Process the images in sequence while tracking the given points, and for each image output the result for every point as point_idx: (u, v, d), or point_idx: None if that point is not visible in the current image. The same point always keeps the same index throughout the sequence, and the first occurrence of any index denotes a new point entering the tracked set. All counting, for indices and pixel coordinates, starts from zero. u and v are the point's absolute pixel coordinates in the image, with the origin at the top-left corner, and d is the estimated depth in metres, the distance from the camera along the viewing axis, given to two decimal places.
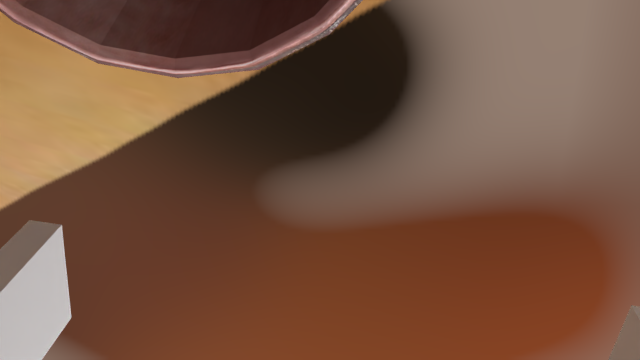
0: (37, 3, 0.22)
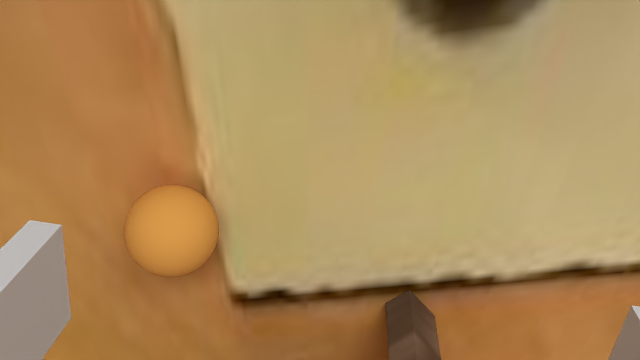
0: None
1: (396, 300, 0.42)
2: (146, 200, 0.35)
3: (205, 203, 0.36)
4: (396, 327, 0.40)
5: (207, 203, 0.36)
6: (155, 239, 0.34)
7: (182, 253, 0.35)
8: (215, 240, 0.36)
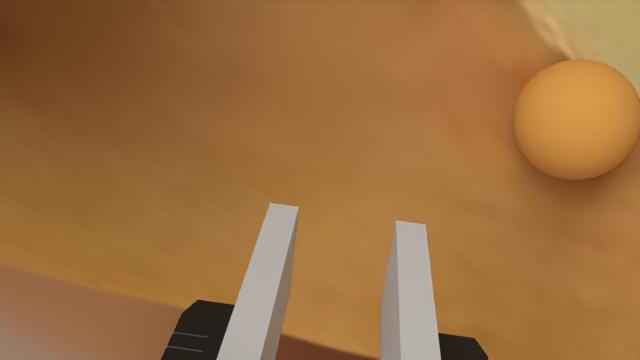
0: None
1: None
2: (525, 100, 0.28)
3: (590, 60, 0.27)
4: None
5: None
6: (570, 124, 0.26)
7: (613, 119, 0.26)
8: (634, 90, 0.27)
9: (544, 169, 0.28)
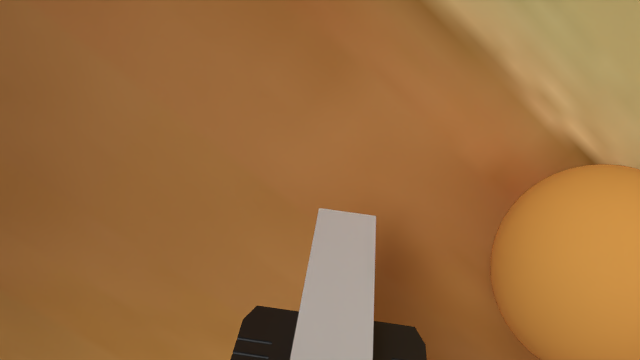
0: None
1: None
2: (510, 245, 0.15)
3: (629, 169, 0.15)
4: None
5: (631, 168, 0.15)
6: (598, 309, 0.13)
7: None
8: None
9: None
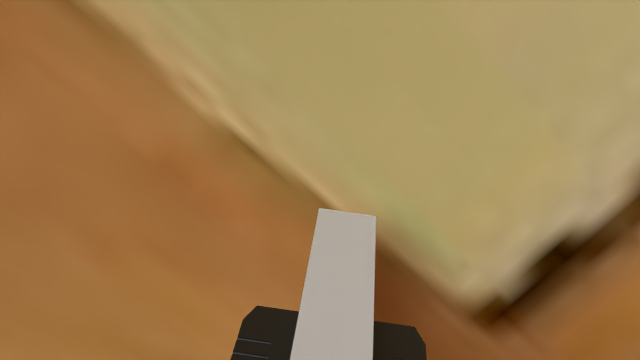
0: None
1: None
2: None
3: None
4: None
5: None
6: None
7: None
8: None
9: None
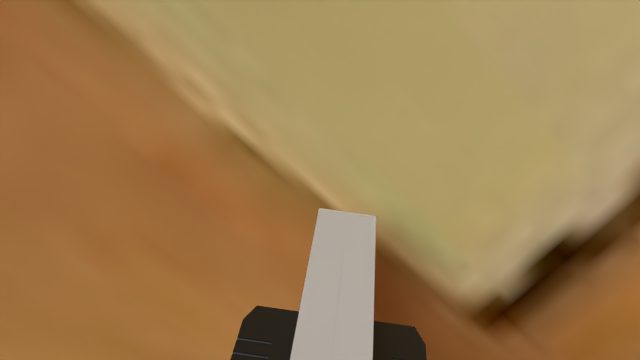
0: None
1: None
2: None
3: None
4: None
5: None
6: None
7: None
8: None
9: None
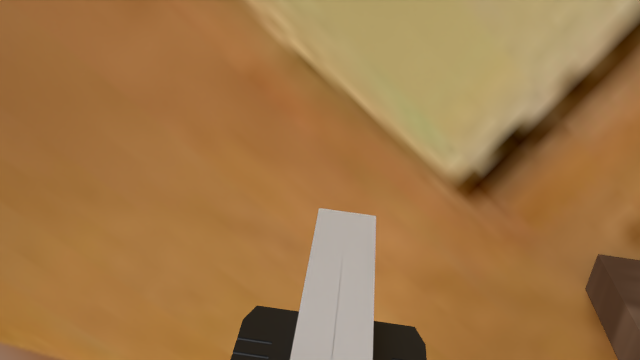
0: None
1: None
2: None
3: None
4: None
5: None
6: None
7: None
8: None
9: None
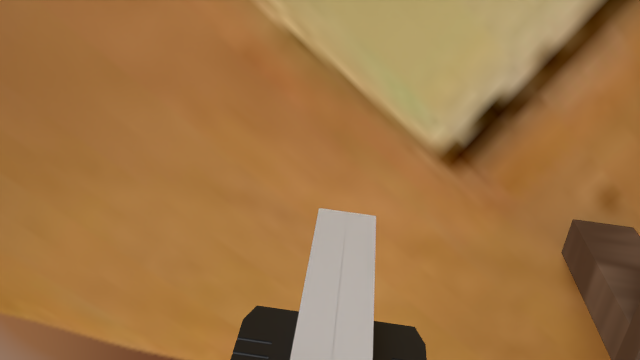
0: None
1: None
2: None
3: None
4: None
5: None
6: None
7: None
8: None
9: None
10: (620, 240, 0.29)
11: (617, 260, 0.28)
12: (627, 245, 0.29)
